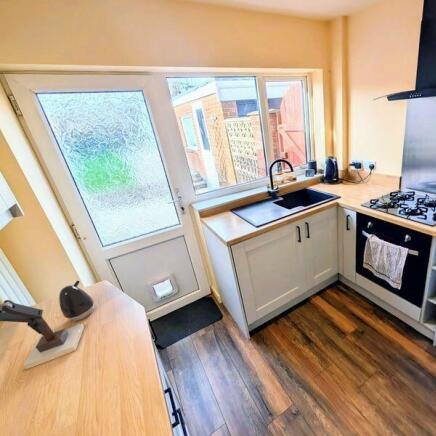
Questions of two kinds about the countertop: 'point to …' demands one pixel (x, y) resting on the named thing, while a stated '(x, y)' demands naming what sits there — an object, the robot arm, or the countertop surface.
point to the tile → (50, 354)
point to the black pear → (75, 302)
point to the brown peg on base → (51, 338)
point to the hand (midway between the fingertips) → (12, 339)
